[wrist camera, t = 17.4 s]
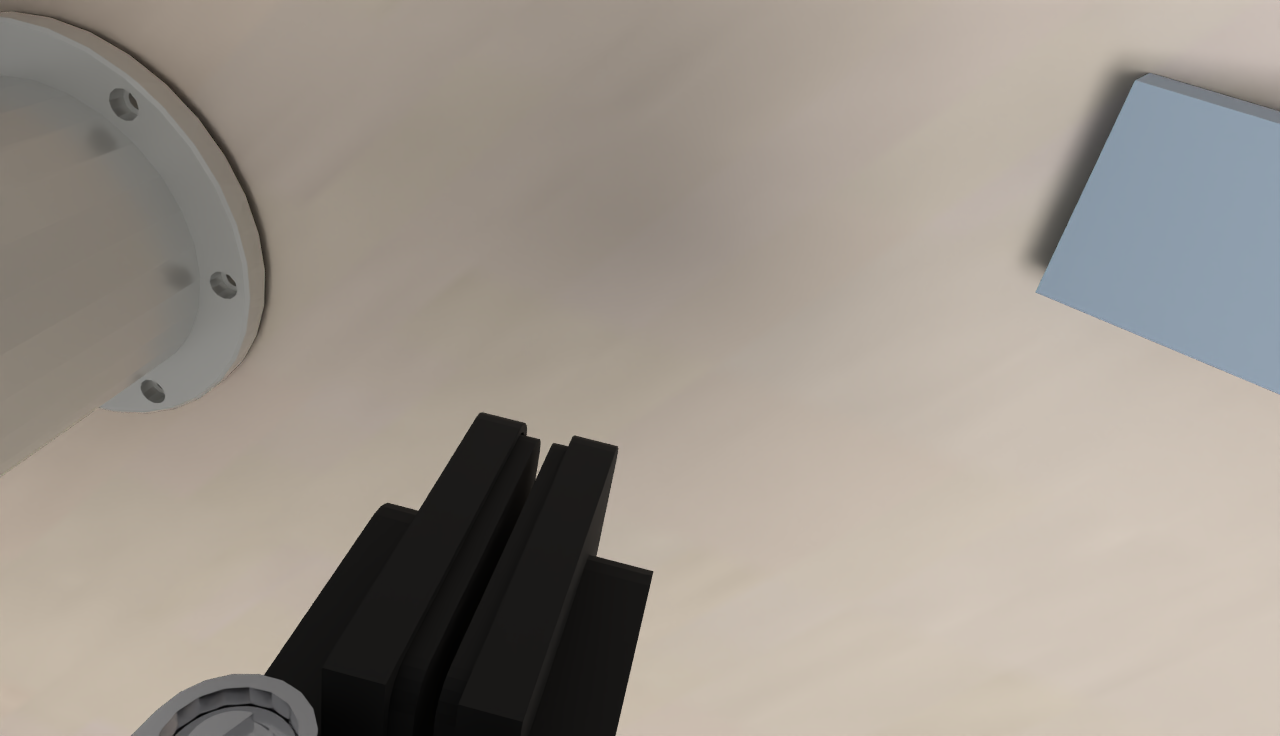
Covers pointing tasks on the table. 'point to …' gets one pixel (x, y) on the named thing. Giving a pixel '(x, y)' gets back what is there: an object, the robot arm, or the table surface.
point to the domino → (1182, 229)
